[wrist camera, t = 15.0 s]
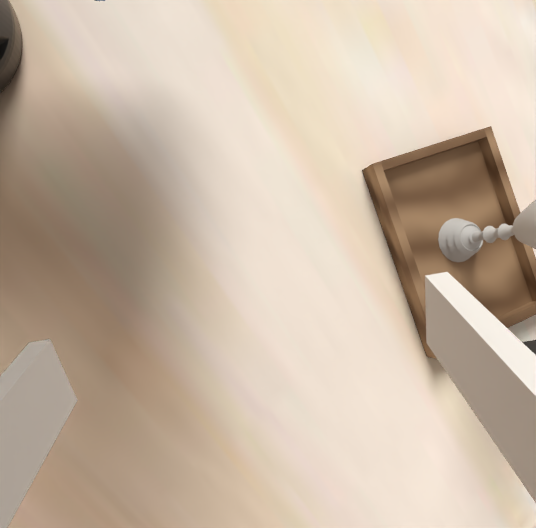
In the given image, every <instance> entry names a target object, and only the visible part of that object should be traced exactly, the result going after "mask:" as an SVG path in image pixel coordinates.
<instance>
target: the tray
mask: <svg viewBox="0 0 536 528" xmlns="http://www.w3.org/2000/svg"><path fill="white" fill-rule="evenodd" d="M362 171H363V174H364V177H365V180H366V183H367V186H368V189H369V192H370V194H371V197H372V200H373V203H374V206H375V209H376V212H377V215H378V217H379V220H380V223H381V226H382V229H383V232H384V235H385V238H386V240H387V243H388V246H389V249H390V252H391V255H392V258H393V261H394V263H395V266H396V269H397V272H398V275H399V278H400V281H401V284H402V286H403V289H404V292H405V295H406V298H407V301H408V304H409V307H410V309H411V312H412V315H413V318H414V321H415V324H416V327H417V330H418V332H419V335H420V338H421V341H422V344H423V347H424V350H425V353H426V355H427V356H428V357H432V358H436V356H435V355H434V353H433V352H432V350H431V349H430V347H429V346H428V345H427V343H426V302H425V275H431V274H437V273H443V272H448V273H449V274H450V275H451V276H452V277H453V278H455V279H456V280H457V281H458V282H459V283H460V284H461V285H462V286H463V287H464V288H465V289H466V290H467V291H468V292H469V293H470V294H471V295H473V296H474V297H475V298H476V299H477V300H478V301H479V302H480V303H481V304H482V305H483V306H484V307H485V308H486V309H487V310H488V311H489V312H491V313H492V314H493V315H494V316H495V317H496V318H497V319H498V320H499V321H500V322H501V323H502V324H503V325H504V326H505V327H506V328H508V327H510V326H512V325H514V324H516V323H518V322H521V321H523V320H525V319H527V318H529V317H531V316H533V315H535V314H536V258H535V255H534V252H533V249H532V247H530V246H528V245H526V244H523V243H521V242H520V241H518V240H517V239H516V237H515V235H513V236H510V237H509V239H507V240H502V239H501V238H496V240H495V241H494V242H493V243H488V242H486V241H485V240H483V243H482V246H481V248H480V250H479V251H478V252H477V253H475V254H474V255H473V256H471V257H470V258H469V259H467V260H466V261H464V262H454V261H451V260H449V259H448V258H446V256H445V255H444V254H443V253H442V251H441V249H440V247H439V241H438V238H439V232H440V229H441V227H442V226H443V224H444V223H445V222H446V221H448V220H450V219H453V218H459V219H463V220H466V221H469V222H473V223H474V224H476V225H477V226H478V227H479V228H480V230H481V232H482V231H483V230H484V229H485V227H487V226H493V227H494V228H495V229H497V228H499V226H500V225H501V224H507V225H512V226H513V223H514V220H515V219H516V217H517V216H518V215H519V214H520V210H519V208H518V205H517V202H516V199H515V196H514V193H513V190H512V187H511V184H510V181H509V178H508V175H507V172H506V169H505V166H504V163H503V160H502V157H501V155H500V152H499V149H498V146H497V143H496V140H495V137H494V134H493V131H492V128H491V126H490V127H487V128H484V129H481V130H478V131H475V132H471V133H468V134H465V135H462V136H459V137H456V138H453V139H449V140H446V141H443V142H440V143H437V144H434V145H431V146H427V147H424V148H421V149H418V150H415V151H412V152H409V153H405V154H402V155H399V156H396V157H393V158H390V159H387V160H383V161H380V162H377V163H374V164H372V165H370V166H368V167H367V168H365V169H363V170H362ZM436 359H437V358H436Z"/></svg>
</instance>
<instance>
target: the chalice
mask: <svg viewBox="0 0 536 528" xmlns="http://www.w3.org/2000/svg"><path fill="white" fill-rule="evenodd" d="M513 235H515V237H516V239H517V240H518V241H520V242H521V243H523V244H526V245H528V246H530V247H532V248H534V249H536V200H535V201H533V202H532V203H531V204H530V205H529V206H528V207H527V208H526V209H524V210H523V211H522V212H521V213H520V214H519V215H518V216H517V217H516V219H515V220H514V223H513V226H512V225H507V224H501V225H500V226H499V228H497V229H495V228H494V227H493V226H487V227H485V229H484V230H483V231H482V232H481V230H480V228H479V227H478V226H477V225H476V224H474V223H473V222H469V221H466V220H463V219H459V218H453V219H450V220H448V221H446V222H445V223H444V224H443V226H442V227H441V229H440V232H439V238H438V241H439V247H440V249H441V251H442V253H443V254H444V255H445V256H446V258H448V259H449V260H451V261H454V262H464V261H466V260H467V259H469V258H470V257H471V256H473V255H474V254H475V253H477V252H478V251H479V250H480V248H481V246H482V243H483V240H485V241H486V242H488V243H493V242H494V241H495V240H496V238H501V239H502V240H507V239H509V237H510V236H513Z"/></svg>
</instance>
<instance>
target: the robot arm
mask: <svg viewBox="0 0 536 528" xmlns="http://www.w3.org/2000/svg"><path fill="white" fill-rule="evenodd" d="M95 1H100V0H95ZM101 1H105V0H101ZM21 51H22V35H21V29H20V25H19V22H18V18H17V16H16V13H15V11H14V9H13V7H12V5H11V3H10V2H9V0H0V93H1V92H2V91H3V90H4V89H5V87H6V86H7V85H8V84H9V82H10V81H11V79H12V78H13V76H14V74H15V72H16V70H17V67H18V65H19V61H20V57H21ZM425 302H426V343H427V345H428V346H429V347H430V349H431V350H432V352H433V353H434V355H435V356H436V358H437V359H438V361H439V362H440V364H441V365H442V366H443V368H444V369H445V371H446V372H447V374H448V375H449V377H450V378H451V380H452V381H453V383H454V384H455V385H456V387H457V388H458V390H459V391H460V393H461V394H462V396H463V397H464V399H465V400H466V402H467V403H468V404H469V406H470V407H471V409H472V410H473V412H474V413H475V415H476V416H477V418H478V419H479V421H480V422H481V423H482V425H483V426H484V428H485V429H486V431H487V432H488V434H489V435H490V437H491V438H492V440H493V441H494V442H495V444H496V445H497V447H498V448H499V450H500V451H501V453H502V454H503V456H504V457H505V459H506V460H507V461H508V463H509V464H510V466H511V467H512V469H513V470H514V472H515V473H516V475H517V476H518V478H519V479H520V480H521V482H522V483H523V485H524V486H525V488H526V489H527V491H528V492H529V494H530V495H531V497H532V498H533V499H534V501H535V502H536V340H533V341H527V342H521V341H520V340H519V339H518V338H517V337H516V336H515V335H514V334H513V333H512V332H511V331H510V330H509V329H508V328H506V327H505V326H504V325H503V324H502V323H501V322H500V321H499V320H498V319H497V318H496V317H495V316H494V315H493V314H492V313H491V312H489V311H488V310H487V309H486V308H485V307H484V306H483V305H482V304H481V303H480V302H479V301H478V300H477V299H476V298H475V297H474V296H473V295H471V294H470V293H469V292H468V291H467V290H466V289H465V288H464V287H463V286H462V285H461V284H460V283H459V282H458V281H457V280H456V279H455V278H453V277H452V276H451V275H450V274H449V273H448V272H443V273H437V274H431V275H425ZM76 402H77V398H76V396H75V393H74V391H73V389H72V387H71V384H70V382H69V380H68V378H67V375H66V373H65V371H64V369H63V366H62V364H61V362H60V360H59V357H58V355H57V353H56V351H55V348H54V346H53V344H52V342H51V339H47V340H41V341H35V342H29V343H28V344H27V345H26V347H25V348H24V349H23V350H22V351H21V352H20V354H19V355H18V356H17V357H16V358H15V359H14V361H13V362H12V363H11V364H10V365H9V366H8V367H7V369H6V370H5V371H4V372H3V373H2V374H1V376H0V528H7V527H8V526H9V524H10V522H11V520H12V518H13V517H14V515H15V513H16V511H17V509H18V508H19V506H20V504H21V502H22V500H23V498H24V497H25V495H26V493H27V491H28V489H29V488H30V486H31V484H32V482H33V480H34V478H35V477H36V475H37V473H38V471H39V469H40V468H41V466H42V464H43V462H44V460H45V459H46V457H47V455H48V453H49V451H50V449H51V448H52V446H53V444H54V442H55V440H56V439H57V437H58V435H59V433H60V431H61V429H62V428H63V426H64V424H65V422H66V420H67V419H68V417H69V415H70V413H71V411H72V410H73V408H74V406H75V404H76Z"/></svg>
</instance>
